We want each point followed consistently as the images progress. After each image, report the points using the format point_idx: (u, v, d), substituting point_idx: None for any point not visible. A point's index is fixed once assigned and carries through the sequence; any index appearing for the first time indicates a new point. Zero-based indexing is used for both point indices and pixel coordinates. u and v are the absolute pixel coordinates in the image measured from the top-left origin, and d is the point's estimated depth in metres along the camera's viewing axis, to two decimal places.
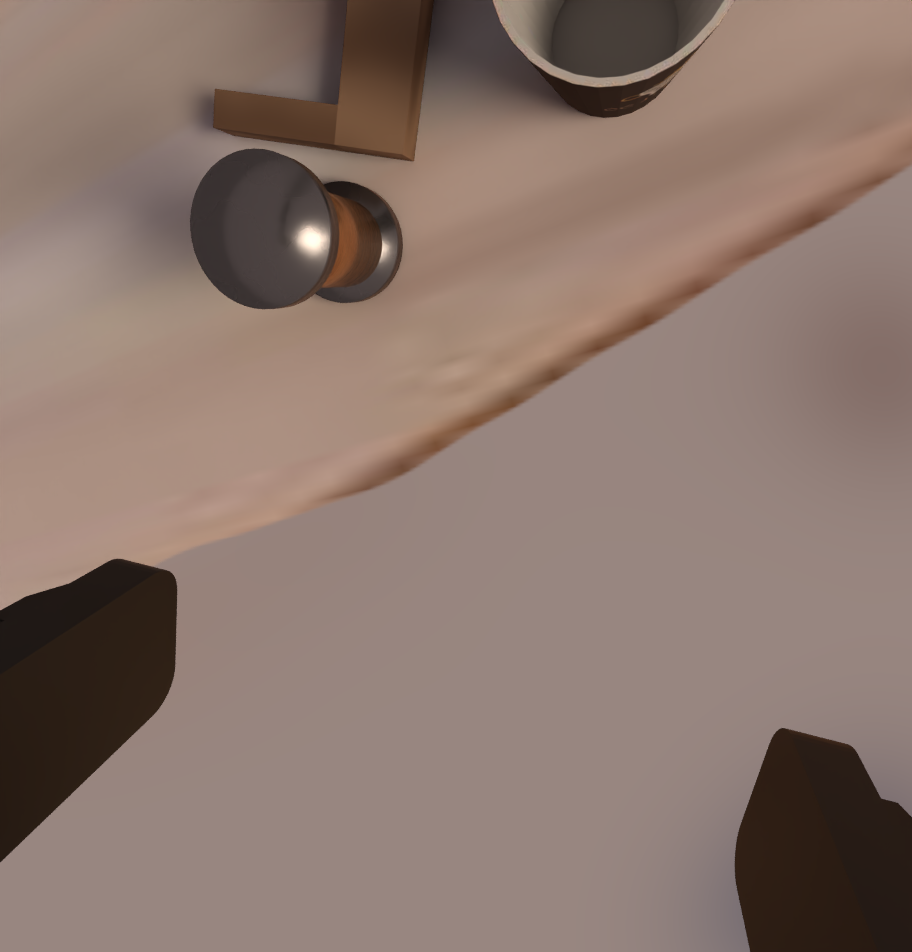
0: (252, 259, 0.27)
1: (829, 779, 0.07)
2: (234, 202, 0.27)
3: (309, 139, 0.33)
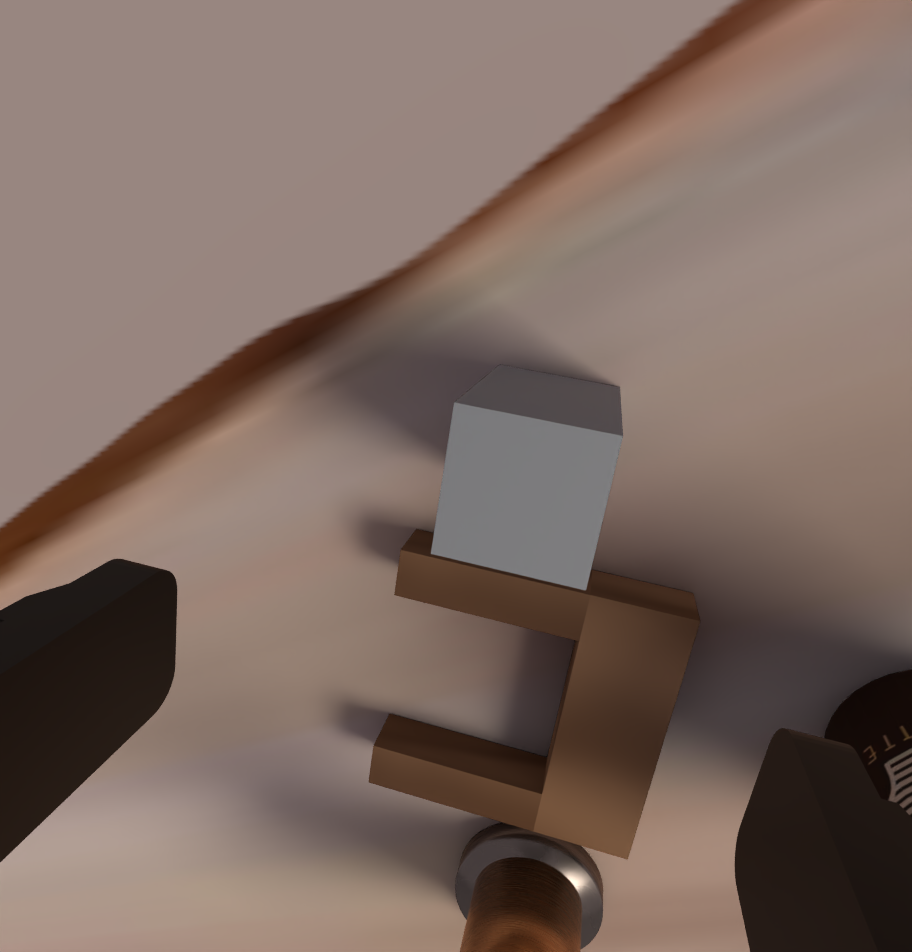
0: None
1: (829, 779, 0.07)
2: None
3: (499, 819, 0.25)
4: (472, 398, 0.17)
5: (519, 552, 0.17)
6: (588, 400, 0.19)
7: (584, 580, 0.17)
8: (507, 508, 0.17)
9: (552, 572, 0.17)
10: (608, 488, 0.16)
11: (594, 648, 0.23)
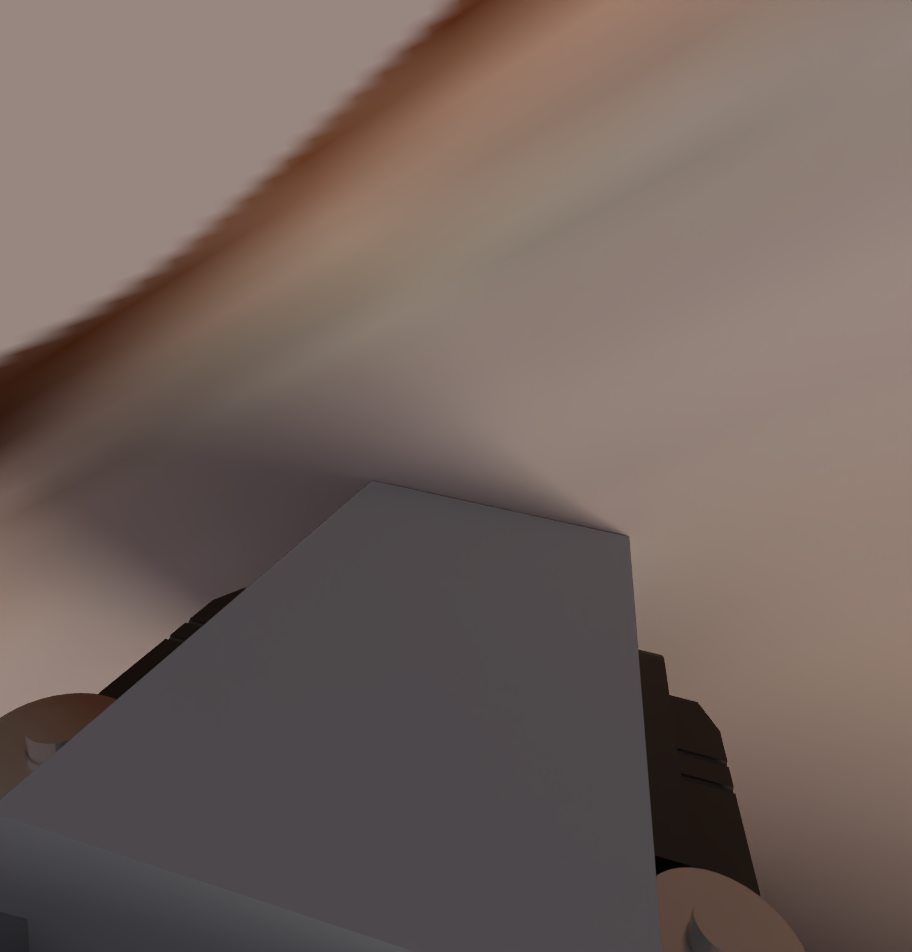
0: None
1: None
2: None
3: None
4: (125, 733, 0.05)
5: None
6: (548, 637, 0.07)
7: None
8: None
9: None
10: None
11: None
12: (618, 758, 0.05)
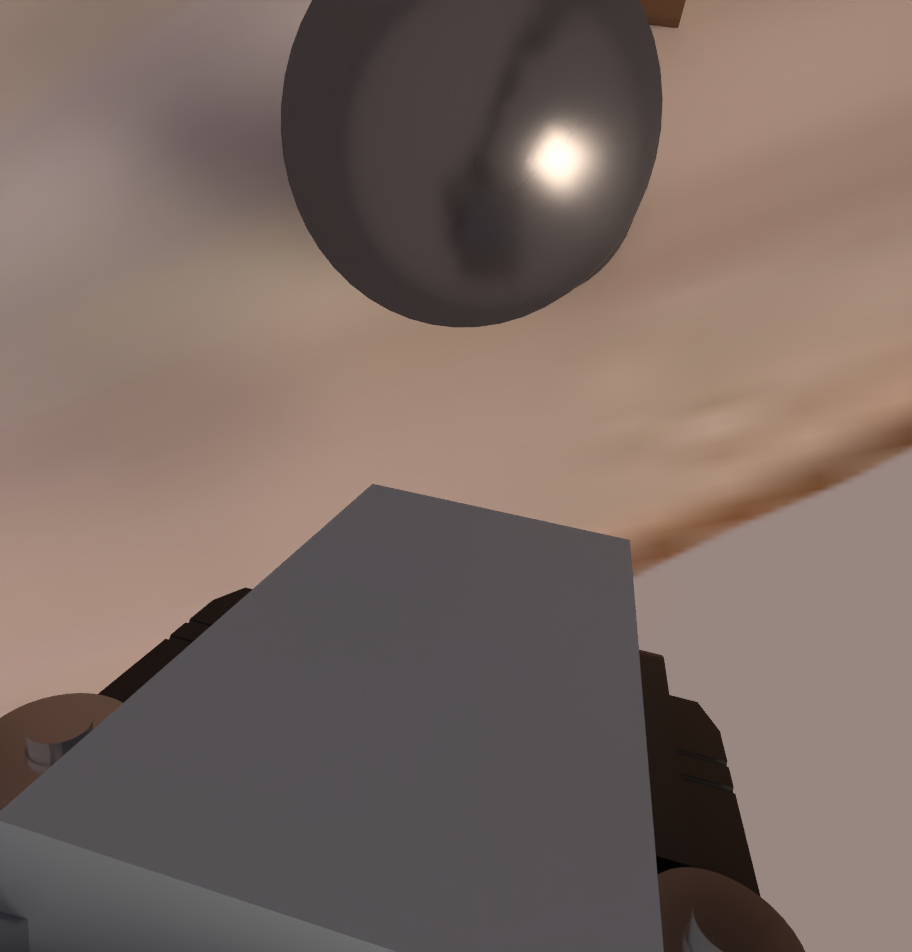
0: (437, 203, 0.11)
1: None
2: (400, 53, 0.10)
3: None
4: (128, 739, 0.05)
5: None
6: (550, 642, 0.07)
7: None
8: None
9: None
10: None
11: None
12: (620, 763, 0.05)
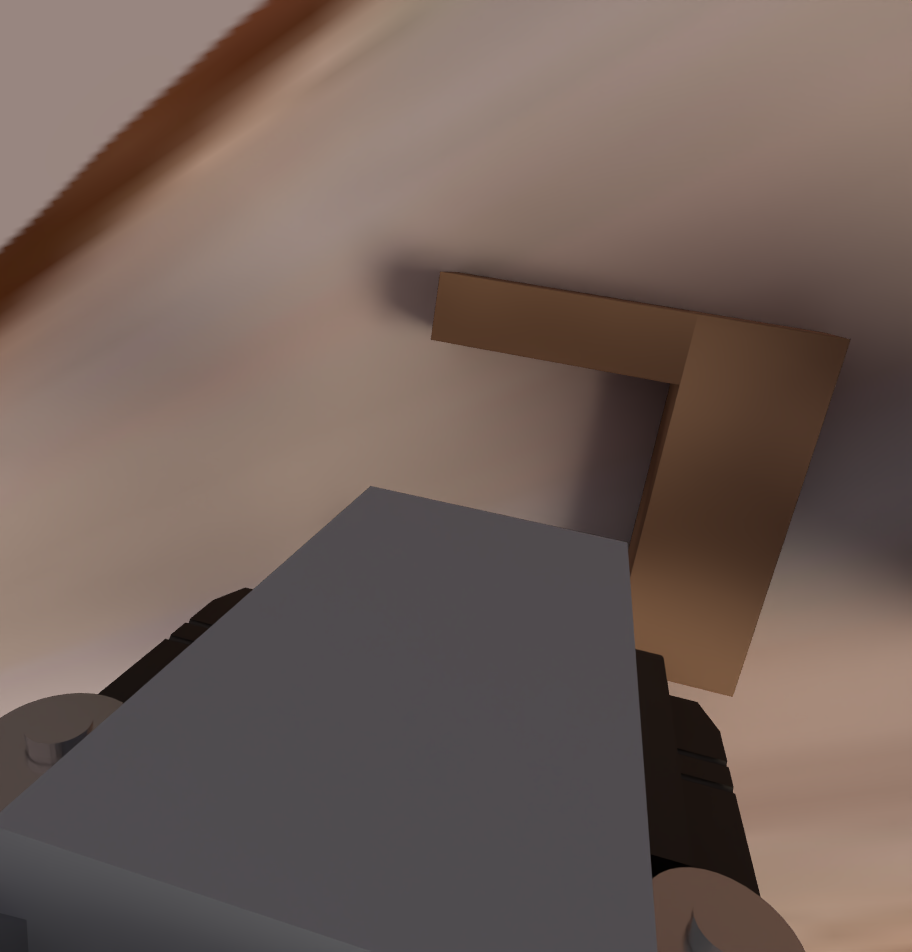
0: None
1: None
2: None
3: None
4: (124, 744, 0.05)
5: None
6: (547, 645, 0.07)
7: None
8: None
9: None
10: None
11: (700, 394, 0.17)
12: (616, 768, 0.05)
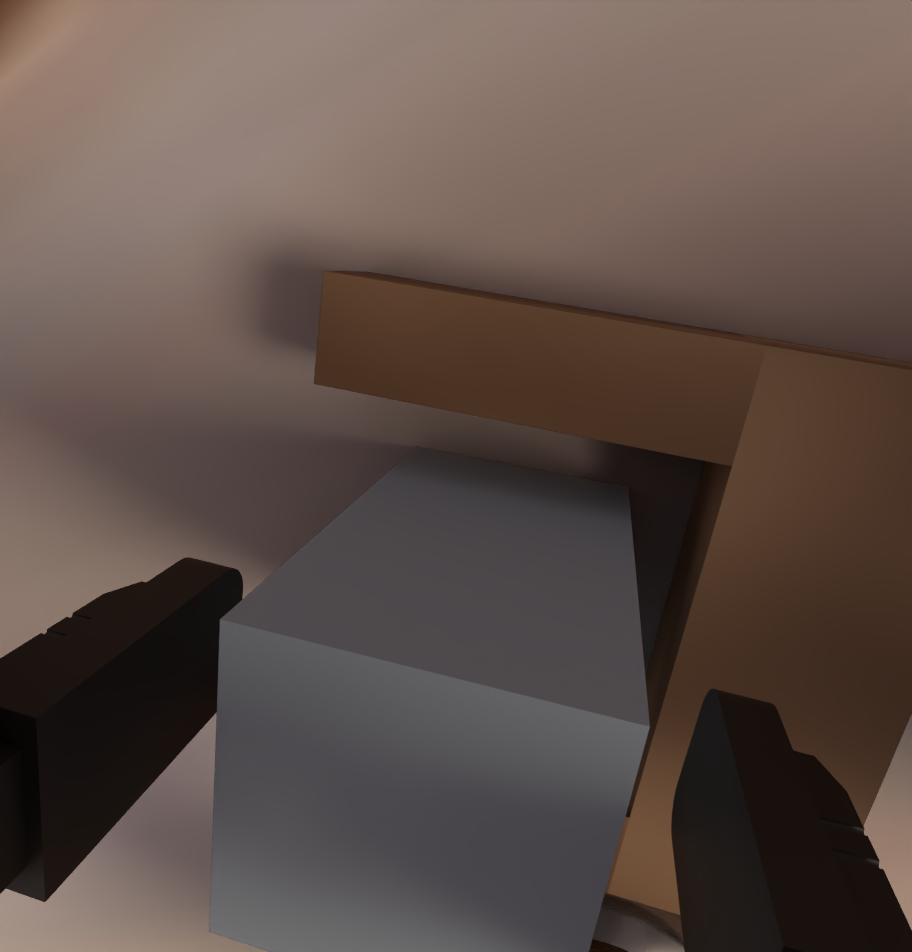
0: None
1: (746, 731, 0.07)
2: None
3: None
4: (287, 587, 0.07)
5: None
6: (567, 547, 0.09)
7: None
8: (369, 863, 0.07)
9: None
10: (612, 845, 0.06)
11: (767, 482, 0.10)
12: (619, 611, 0.08)
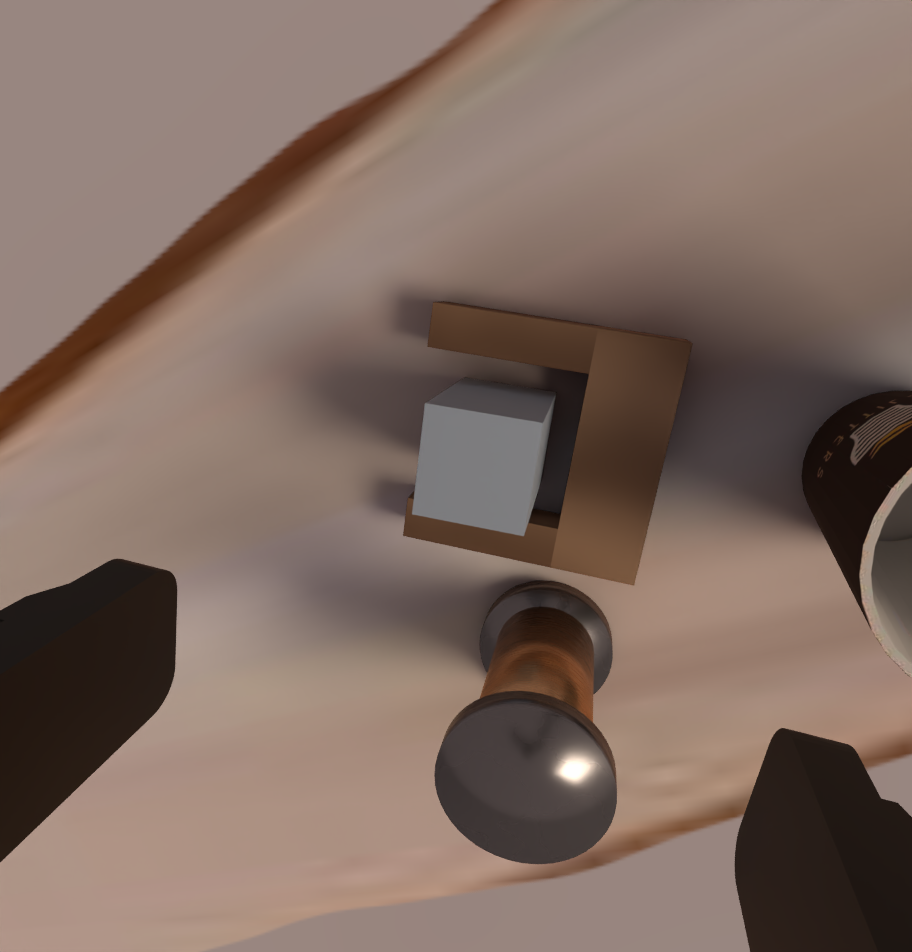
0: (511, 813, 0.23)
1: (829, 779, 0.07)
2: (494, 756, 0.22)
3: (520, 559, 0.29)
4: (438, 400, 0.24)
5: (476, 509, 0.23)
6: (527, 401, 0.26)
7: (522, 528, 0.23)
8: (465, 478, 0.23)
9: (499, 523, 0.23)
10: (535, 460, 0.23)
11: (602, 379, 0.26)
12: (541, 411, 0.24)
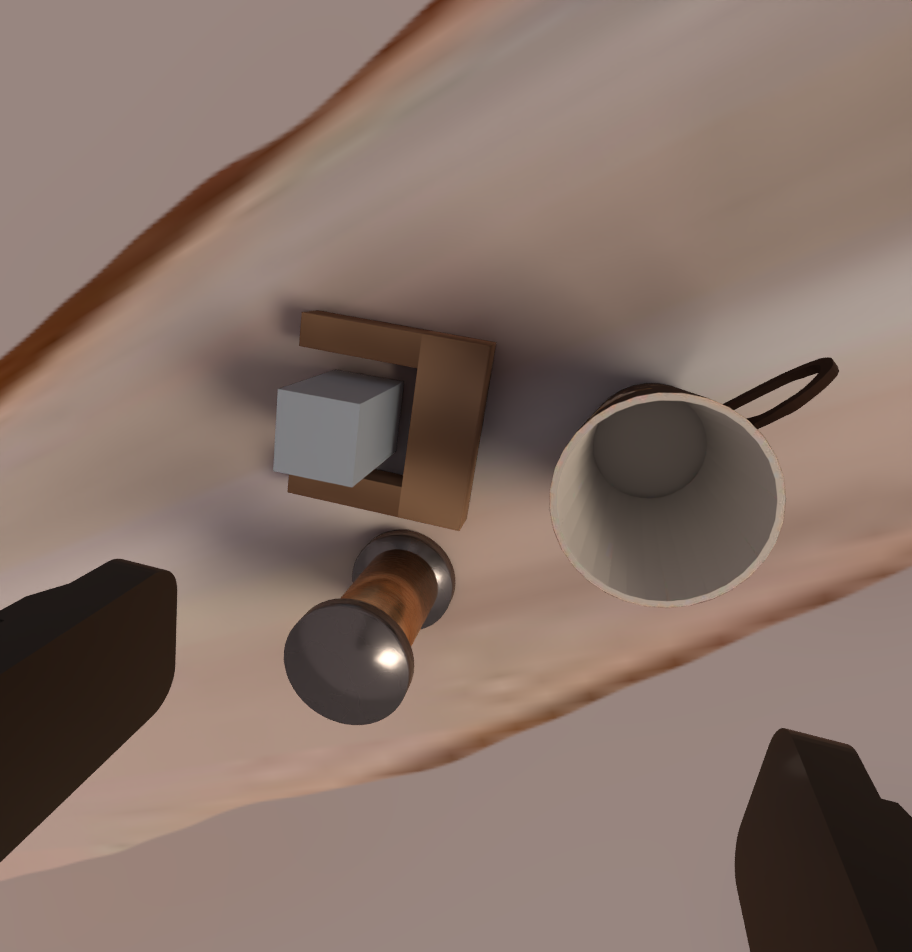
0: (338, 687, 0.31)
1: (829, 779, 0.07)
2: (324, 644, 0.31)
3: (375, 510, 0.37)
4: (291, 387, 0.32)
5: (317, 467, 0.32)
6: (367, 388, 0.34)
7: (350, 481, 0.32)
8: (309, 444, 0.32)
9: (334, 478, 0.32)
10: (356, 431, 0.31)
11: (427, 372, 0.35)
12: (370, 396, 0.33)
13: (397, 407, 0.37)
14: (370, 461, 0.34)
